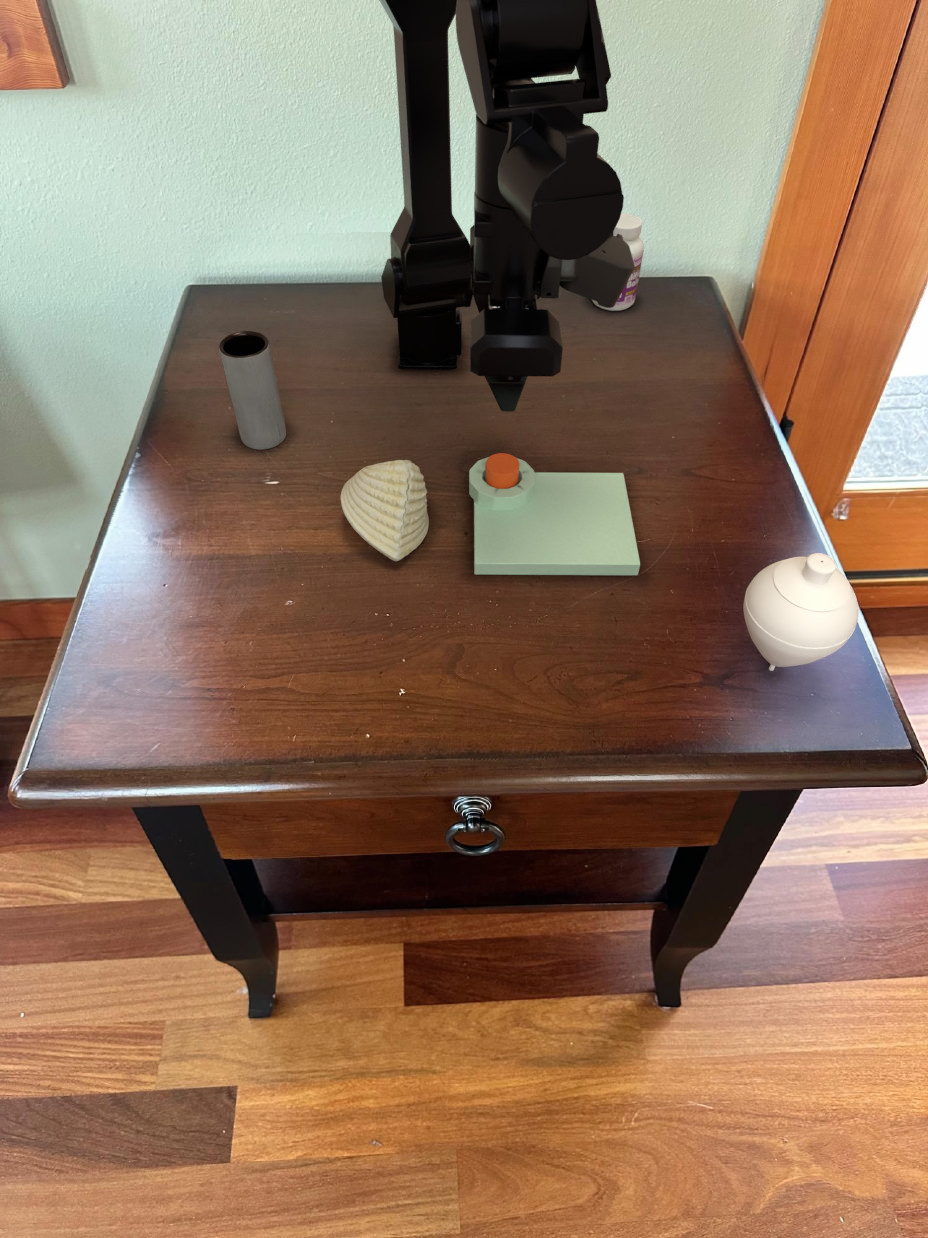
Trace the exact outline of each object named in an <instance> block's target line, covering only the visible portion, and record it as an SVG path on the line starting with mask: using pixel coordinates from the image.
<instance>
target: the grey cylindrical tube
mask: <svg viewBox="0 0 928 1238" xmlns="http://www.w3.org/2000/svg"><path fill="white" fill-rule="evenodd" d="M218 351H219V356H220V360H221V363H222V367H223V371H224V377H225V379H226V383H227V388H228V391H229V397H230V401H231V403H232V408H233V413H234V416H235V420H236V424H237V429H238V433H239V437H240V439H241V442H242V444H244V446H246V447H247V448H250V449H253V450H268V449H272V448H275V447H277V446H279V445H280V444H282V443H283V442H284V441H285V439H286V437H287V427H286V422H285V421H286V420H285V417H284V412H283V405H282V401H281V395H280V391H279V386H278V380H277V375H276V370H275V365H274V360H273V354H272V349H271V344H270V340H269V338H268V337H267V336H266V335H265V334H263V333H261V332H258V331H254V330H242V331H235V332H233V333H230V334H228V335H226V336H225V337H224V338H222V339H221V341H220V342H219V345H218Z"/></svg>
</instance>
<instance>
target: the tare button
mask: <svg viewBox="0 0 928 1238" xmlns="http://www.w3.org/2000/svg"><path fill="white" fill-rule="evenodd" d="M488 457H489V458H488V459H487V461H486V472H485V480H486V482H487V484H488V485H490V486H491V487H494V488H497V489H509V488H511V487H514V486H515V485H516V484H517V482H518V479H519V461H518V459H519V458H518V457H515V456H514V455H512V454H509V453H504V452H499V453H495V454H492V455H490V456H488ZM517 458H518V459H517Z"/></svg>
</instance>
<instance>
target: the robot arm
mask: <svg viewBox="0 0 928 1238" xmlns="http://www.w3.org/2000/svg"><path fill="white" fill-rule="evenodd" d="M379 2H380V5H381V6H382V8H383V10H384V12H385V13H386V15H387V17H388V18H389V20H390V22H391V24H392V26H393V28H392V29H393V42H394V55H395V57H394V58H395V71H396V72H395V73H396V75H395V76H396V89H397V102H398V103H397V106H398V107H397V108H398V121H399V139H400V153H401V154H400V155H401V173H402V187H403V188H402V189H403V205H404V206H403V208H402V210H401V212H400V214H399V216H398V219H397V220H396V222H395V224H394V227H393V228H392V230H391V232H390V238H389V239H390V257H389V258H387V259H386V262H385V264H384V268H383V271H382V273H381V286H382V293H383V299H384V301H385V303H386V305H387V308H388V309H389V311H390V314H391V316H392V317H393V319H396V321H397V336H398V337H397V339H398V357H397V368H398V369H399V370H445V371H446V370H451V371H452V370H456V369H457V368H458V357H460V356H461V355H462V351H463V350H462V348H463V346H462V345H463V341H462V340H463V337H462V336H463V333H462V332H463V311H462V310H461V309H460V308H470V307H471V304H472V300H473V299H474V303H475V305H476V308H477V312H478V313H477V315H476V316H475V317H473V318H472V319H471V320H470V325H469V326H470V328H469V329H470V330H469V331H470V333H469V334H470V337H469V339H470V340H469V344H470V345H469V359H470V360H469V364H470V365H469V368H470V369H469V371H470V372H471V373H472V374H474V375H476V376H478V377H484V378H485V380H486V382H487V384H488V387H489V388H490V390H491V393H492V395H493V397H494V400H495V401H496V404H497V405H498V407H499V409H500V411H501V412H505V413H506V412H508V413H509V412H510V413H511V412H515V411H516V409H517V406H518V403H519V401H520V398H521V395H522V393H523V390H524V387H525V384H526V382H527V379H528V377H552V378H553V377H555V376H556V375H558V374H560V373H561V371H562V370H561V369H562V362H563V361H562V359H563V351H564V350H563V349H564V347H563V339H562V330H561V324H560V321H559V320H558V319H557V318H556V316H554V314H552V313H551V311H550V310H549V309H541V308H540V309H539V306H538V300H539V299H540V298H541V299H559V293H560V288H562V289H564V290H565V291H567V292H570V293H572V294H574V295H575V294H576V295H578V296H581V297H583V298H586V299H589V300H591V301H592V300H594V301H597V302H598V305H600V306H603V307H606V308H612V307H614V306H615V304H616V302H617V300H618V298H619V296H620V295H621V293H622V291H623V289H624V287H625V285H626V283H627V282H628V280H629V278H630V276H631V274H632V272H633V270H634V269H635V265H634V262H633V258H632V254H631V250H630V247H629V245H628V244H627V243H626V242H625V241H624V240H623V237H622V235H620V234H617V236H613V231H614V229H615V227H616V225H617V223H618V221H619V219H620V216H621V213H622V211H623V208H624V199H625V197H624V194H623V189H622V184H621V183H622V182H621V180H620V178H619V175H618V173H617V171H616V170H615V169H614V168H613V167H612V166H611V164H610V163H608V162H607V160H605V159H604V157H602V156H601V154H599V153H598V152H599V144H600V135H599V133H598V131H596V130H595V129H594V128H593V127H592V126H591V125H588V124H585V123H584V117H585V116H584V115H588V114H597V113H598V114H599V113H605V112H607V111H608V108H609V98H608V90H607V85H608V83H609V81H610V79H611V78H612V72H611V67H610V63H609V58H608V53H607V48H606V43H605V38H604V32H603V28H602V23H601V19H600V13H599V8H598V5H597V0H379ZM454 18H455V31H456V32H455V33H456V41H457V45H458V50H459V55H460V58H461V62H462V67H463V68H464V73H465V77H466V81H467V84H468V88H469V93H470V96H471V100H472V104H473V108H474V111H475V148H474V149H475V150H474V151H475V153H474V155H475V157H474V159H475V161H474V163H475V164H474V192H473V193H474V194H473V219H474V220H473V222H474V223H473V225H472V226H471V227H470V228H469V239H468V238H467V236H466V235H465V233H464V231H463V229H462V228H461V226H460V225H459V223H458V221H457V219H456V217H455V216H454V214H453V196H452V195H453V193H452V191H453V190H452V155H451V154H452V153H451V152H452V148H451V147H452V146H451V108H450V105H451V104H450V103H451V102H450V66H449V65H450V63H449V61H450V60H449V29H450V27H451V25H452V23H453V21H454ZM575 70H576V73H577V76H578V78H572V79H571V78H570V79H565V80H564V79H563V80H562V79H561V80H552V81H542V82H535V81H534V80H533V79H537V78H547V77H556V76H557V77H558V76H568V75H572V74H573V73H574V72H575Z"/></svg>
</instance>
